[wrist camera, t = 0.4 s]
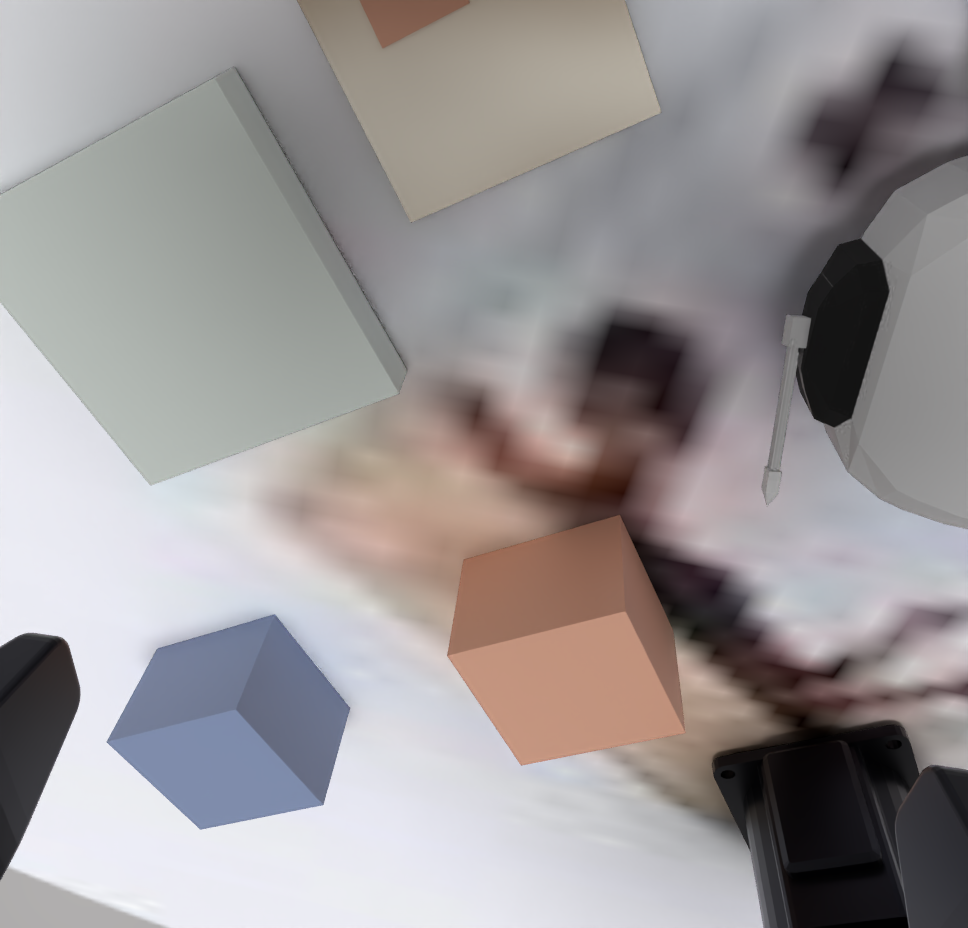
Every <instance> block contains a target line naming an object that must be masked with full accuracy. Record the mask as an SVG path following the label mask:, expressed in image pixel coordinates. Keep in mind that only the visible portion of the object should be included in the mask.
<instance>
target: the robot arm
mask: <svg viewBox="0 0 968 928" xmlns="http://www.w3.org/2000/svg"><path fill="white" fill-rule="evenodd" d="M79 702H80V685H79V681H78V678H77V674H76V670H75V666H74V663H73V659H72V655H71V652H70V648H69V645H68V643H67V642H66V641H65V640H64V639H63V638H61V637H58V636H52V635H45V634H38V633H25V634H22V635H19V636H17V637H15V638H14V639H12V640H11V641H9V642H7V643H6V644H4V645H2V646H1V647H0V880H1V879H2V877H3V875H4V873H5V871H6V870H7V868H8V866H9V864H10V862H11V860H12V858H13V856H14V854H15V852H16V850H17V848H18V847H19V844H20V842H21V840H22V838H23V836H24V833H25V831H26V829H27V827H28V825H29V822H30V820H31V818H32V815H33V813H34V811H35V808H36V806H37V804H38V801H39V799H40V797H41V794H42V792H43V790H44V787H45V785H46V783H47V780H48V778H49V776H50V773H51V771H52V768H53V766H54V764H55V761H56V759H57V757H58V754H59V752H60V750H61V747H62V745H63V743H64V740H65V738H66V736H67V733H68V731H69V729H70V726H71V724H72V721H73V719H74V717H75V714H76V712H77V709H78V706H79ZM712 768H713V774H714V778H715V780H716V782H717V784H718V786H719V788H720V790H721V793H722V795H723V797H724V799H725V801H726V803H727V805H728V807H729V809H730V811H731V813H732V815H733V817H734V819H735V821H736V823H737V825H738V827H739V829H740V831H741V833H742V835H743V837H744V839H745V841H746V843H747V845H748V847H749V849H750V851H751V856H752V862H753V868H754V874H755V880H756V886H757V892H758V897H759V903H760V909H761V915H762V921H763V927H764V928H968V770H964V769H959V768H952V767H945V766H939V765H931V766H929V767H927V768H925V769H924V770H923V771H922V772H921V774H920V775H919V772H918V768H917V765H916V761H915V758H914V754H913V751H912V747H911V744H910V741H909V738H908V735H907V733H906V731H905V729H904V728H902V727H901V726H897V725H886V726H881V727H876V728H870V729H865V730H860V731H854V732H849V733H844V734H838V735H833V736H828V737H822V738H817V739H812V740H806V741H801V742H796V743H790V744H785V745H780V746H774V747H769V748H764V749H758V750H753V751H748V752H742V753H737V754H732V755H727V756H722V757H719V758H717V759H715V760H714V761H713V763H712Z"/></svg>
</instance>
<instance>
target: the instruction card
mask: <svg viewBox="0 0 968 928" xmlns="http://www.w3.org/2000/svg"><path fill="white" fill-rule="evenodd" d="M297 1H298V3H299V5H300V7H301V9H302V11H303V13H304V15H305V17H306V19H307V21H308V23H309V25H310V27H311V29H312V31H313V33H314V35H315V37H316V39H317V40H318V42H319V44H320V46H321V48H322V50H323V52H324V54H325V56H326V58H327V60H328V62H329V64H330V66H331V68H332V70H333V72H334V74H335V76H336V78H337V80H338V81H339V83H340V85H341V87H342V89H343V91H344V93H345V95H346V97H347V99H348V101H349V103H350V105H351V107H352V109H353V111H354V113H355V115H356V117H357V119H358V121H359V122H360V124H361V126H362V128H363V130H364V132H365V134H366V136H367V138H368V140H369V142H370V144H371V146H372V148H373V150H374V152H375V154H376V156H377V158H378V160H379V161H380V163H381V165H382V167H383V169H384V171H385V173H386V175H387V177H388V179H389V181H390V183H391V185H392V187H393V189H394V191H395V193H396V195H397V197H398V199H399V201H400V202H401V204H402V206H403V208H404V210H405V212H406V214H407V216H408V218H409V220H410V222H411V223H412V222H414V221H416V220H419V219H421V218H423V217H426V216H428V215H430V214H432V213H435V212H437V211H439V210H441V209H444V208H446V207H448V206H451V205H453V204H455V203H457V202H460V201H462V200H464V199H466V198H469V197H471V196H473V195H476V194H478V193H480V192H482V191H485V190H487V189H489V188H491V187H494V186H496V185H498V184H501V183H503V182H505V181H507V180H510V179H512V178H514V177H516V176H519V175H521V174H523V173H526V172H528V171H530V170H532V169H535V168H537V167H539V166H541V165H544V164H546V163H548V162H551V161H553V160H555V159H557V158H560V157H562V156H564V155H566V154H569V153H571V152H573V151H575V150H578V149H580V148H582V147H585V146H587V145H589V144H591V143H594V142H596V141H598V140H600V139H603V138H605V137H607V136H610V135H612V134H614V133H616V132H619V131H621V130H623V129H625V128H628V127H630V126H632V125H635V124H637V123H639V122H641V121H644V120H646V119H648V118H650V117H653V116H655V115H657V114H660V113H662V112H661V109H660V106H659V103H658V100H657V97H656V94H655V91H654V88H653V85H652V82H651V79H650V76H649V73H648V70H647V67H646V64H645V61H644V57H643V54H642V51H641V48H640V45H639V42H638V39H637V36H636V33H635V30H634V27H633V24H632V21H631V18H630V15H629V12H628V9H627V6H626V3H625V0H297Z"/></svg>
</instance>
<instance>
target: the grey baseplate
mask: <svg viewBox="0 0 968 928" xmlns="http://www.w3.org/2000/svg"><path fill="white" fill-rule="evenodd" d="M0 303H1V304H2V305H3V306H4V308H5V309H6V310H7V311H8V312H9V314H10V315H11V316H12V317H13V319H14V320H15V321H16V322H17V323H18V325H19V326H20V327H21V328H22V329H23V331H24V332H25V333H26V334H27V336H28V337H29V338H30V339H31V340H32V342H33V343H34V344H35V345H36V347H37V348H38V349H39V350H40V351H41V353H42V354H43V355H44V356H45V358H46V359H47V360H48V361H49V362H50V364H51V365H52V366H53V367H54V369H55V370H56V371H57V372H58V373H59V375H60V376H61V377H62V378H63V380H64V381H65V382H66V383H67V384H68V386H69V387H70V388H71V389H72V391H73V392H74V393H75V394H76V395H77V397H78V398H79V399H80V400H81V402H82V403H83V404H84V405H85V406H86V408H87V409H88V410H89V411H90V413H91V414H92V415H93V416H94V417H95V419H96V420H97V421H98V422H99V424H100V425H101V426H102V427H103V428H104V430H105V431H106V432H107V433H108V434H109V436H110V437H111V438H112V439H113V441H114V442H115V443H116V444H117V445H118V447H119V448H120V449H121V450H122V452H123V453H124V454H125V455H126V456H127V458H128V459H129V460H130V461H131V463H132V464H133V465H134V466H135V467H136V469H137V470H138V471H139V472H140V474H141V475H142V476H143V477H144V478H145V480H146V481H147V482H148V483H149V485H150V486H151V485H154V484H156V483H159V482H162V481H164V480H167V479H170V478H173V477H175V476H178V475H181V474H183V473H186V472H189V471H192V470H194V469H197V468H200V467H202V466H205V465H208V464H210V463H213V462H216V461H219V460H221V459H224V458H227V457H229V456H232V455H235V454H238V453H240V452H243V451H246V450H248V449H251V448H254V447H257V446H259V445H262V444H265V443H267V442H270V441H273V440H276V439H278V438H281V437H284V436H286V435H289V434H292V433H294V432H297V431H300V430H303V429H305V428H308V427H311V426H313V425H316V424H319V423H322V422H324V421H327V420H330V419H332V418H335V417H338V416H341V415H343V414H346V413H349V412H351V411H354V410H357V409H360V408H362V407H365V406H368V405H370V404H373V403H376V402H378V401H381V400H384V399H387V398H389V397H392V396H395V395H397V394H399V393H400V390H401V387H402V384H403V381H404V379H405V376H406V373H407V369H406V367H405V366H404V364H403V362H402V360H401V359H400V357H399V355H398V353H397V352H396V350H395V348H394V346H393V345H392V343H391V341H390V339H389V338H388V336H387V334H386V332H385V331H384V329H383V327H382V325H381V324H380V322H379V320H378V318H377V316H376V315H375V313H374V311H373V309H372V308H371V306H370V304H369V302H368V301H367V299H366V297H365V295H364V294H363V292H362V290H361V288H360V287H359V285H358V283H357V281H356V280H355V278H354V276H353V274H352V273H351V271H350V269H349V267H348V266H347V264H346V262H345V260H344V258H343V257H342V255H341V253H340V251H339V250H338V248H337V246H336V244H335V243H334V241H333V239H332V237H331V236H330V234H329V232H328V230H327V229H326V227H325V225H324V223H323V222H322V220H321V218H320V216H319V215H318V213H317V211H316V209H315V207H314V206H313V204H312V202H311V200H310V199H309V197H308V195H307V193H306V192H305V190H304V188H303V186H302V185H301V183H300V181H299V179H298V178H297V176H296V174H295V172H294V171H293V169H292V167H291V165H290V164H289V162H288V160H287V158H286V157H285V155H284V153H283V151H282V149H281V148H280V146H279V144H278V142H277V141H276V139H275V137H274V135H273V134H272V132H271V130H270V128H269V127H268V125H267V123H266V121H265V120H264V118H263V116H262V114H261V113H260V111H259V109H258V107H257V106H256V104H255V102H254V100H253V99H252V97H251V95H250V93H249V91H248V90H247V88H246V86H245V84H244V83H243V81H242V79H241V77H240V76H239V74H238V72H237V70H236V69H235V67H232V68H231V69H229V70H227V71H225V72H223V73H221V74H220V75H218V76H216V77H214V78H212V79H211V80H209V81H207V82H205V83H203V84H201V85H200V86H198V87H196V88H194V89H192V90H190V91H189V92H187V93H185V94H183V95H181V96H180V97H178V98H176V99H174V100H172V101H170V102H169V103H167V104H165V105H163V106H161V107H159V108H158V109H156V110H154V111H152V112H150V113H149V114H147V115H145V116H143V117H141V118H139V119H138V120H136V121H134V122H132V123H130V124H128V125H127V126H125V127H123V128H121V129H119V130H118V131H116V132H114V133H112V134H110V135H108V136H107V137H105V138H103V139H101V140H99V141H97V142H96V143H94V144H92V145H90V146H88V147H86V148H85V149H83V150H81V151H79V152H77V153H76V154H74V155H72V156H70V157H68V158H66V159H65V160H63V161H61V162H59V163H57V164H55V165H54V166H52V167H50V168H48V169H46V170H45V171H43V172H41V173H39V174H37V175H35V176H34V177H32V178H30V179H28V180H26V181H24V182H23V183H21V184H19V185H17V186H15V187H14V188H12V189H10V190H8V191H6V192H4V193H3V194H1V195H0Z"/></svg>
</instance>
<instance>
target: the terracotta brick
mask: <svg viewBox="0 0 968 928" xmlns="http://www.w3.org/2000/svg"><path fill="white" fill-rule="evenodd" d="M447 656H448V658H449V659H450V661H451V662H452V664H453V665H454V667H455V668H456V669H457V671H458V672H459V674H460V675H461V677H462V678H463V680H464V681H465V683H466V684H467V686H468V687H469V689H470V690H471V692H472V693H473V695H474V696H475V698H476V699H477V701H478V702H479V704H480V705H481V707H482V708H483V710H484V711H485V713H486V714H487V716H488V717H489V719H490V720H491V721H492V723H493V724H494V726H495V727H496V729H497V730H498V732H499V733H500V735H501V736H502V738H503V739H504V741H505V742H506V744H507V745H508V747H509V748H510V750H511V751H512V753H513V754H514V756H515V757H516V759H517V760H518V762H519V763H520V765H526V764H531V763H536V762H541V761H546V760H551V759H557V758H562V757H567V756H572V755H577V754H582V753H587V752H592V751H597V750H602V749H607V748H612V747H617V746H622V745H627V744H632V743H637V742H642V741H647V740H652V739H658V738H663V737H668V736H673V735H678V734H683V733H686V732H685V724H684V715H683V707H682V699H681V690H680V682H679V674H678V665H677V657H676V649H675V640H674V632H673V629H672V627H671V625H670V623H669V620H668V618H667V616H666V614H665V612H664V610H663V607H662V605H661V603H660V601H659V599H658V597H657V594H656V592H655V590H654V588H653V586H652V584H651V581H650V579H649V577H648V575H647V573H646V571H645V568H644V566H643V564H642V562H641V560H640V558H639V555H638V553H637V551H636V549H635V547H634V545H633V542H632V540H631V538H630V536H629V534H628V532H627V529H626V527H625V525H624V523H623V521H622V519H621V516H620V515H618V516H614V517H611V518H607V519H604V520H600V521H597V522H593V523H590V524H586V525H583V526H579V527H576V528H572V529H569V530H565V531H562V532H558V533H555V534H551V535H548V536H545V537H541V538H538V539H534V540H531V541H527V542H524V543H520V544H517V545H513V546H510V547H506V548H503V549H499V550H496V551H492V552H489V553H485V554H482V555H478V556H475V557H471V558H468V559H464V561H463V567H462V573H461V579H460V584H459V590H458V596H457V602H456V608H455V614H454V619H453V625H452V631H451V637H450V643H449V649H448V654H447Z"/></svg>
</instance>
